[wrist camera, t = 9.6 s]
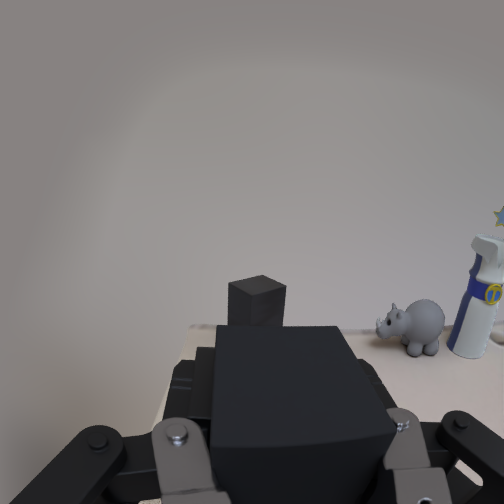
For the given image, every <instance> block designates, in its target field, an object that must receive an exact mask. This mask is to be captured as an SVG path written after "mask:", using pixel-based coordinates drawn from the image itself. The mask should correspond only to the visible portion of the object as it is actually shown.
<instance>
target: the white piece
mask: <svg viewBox="0 0 504 504" xmlns="http://www.w3.org/2000/svg"><path fill="white" fill-rule="evenodd" d="M494 214H495V215H496V217H497V218H498V220H497V222H496V226H499V225H503V226H504V206H503V208H502V210H501V211H500V212H495V211H494ZM471 246H472V248H473V249H474V251H475V252H476V259H475V263H474V265H473V267H472V268H471V269H470V270H469V273H470V279H469V283H468V287H467V290H466V291H465V293H464V295H463V298H462V300H461V304H460V307H459V311H458V314H457V317H456V320H455V323H454V325H453V328H452V331H451V333H450V336H449V338H448V341H447V346H448V347H449V349H450V350H451V351H452V352H454V353H455V354H457V355H459V356H461V357H464V358H469V359H477V358H480V357H482V356H483V354H484V351H485V348H486V345H487V342H488V339H489V336H490V333H491V330H492V326H493V323H494V320H495V317H496V314H497V310H498V305H499V300H500V298H501V296H502V286H503V284H504V239H501V238H499V237H495V236H490V235H485V234H477V235H476V237H475V239H474V240H473V242H472V244H471Z"/></svg>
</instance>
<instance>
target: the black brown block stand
mask: <svg viewBox="0 0 504 504" xmlns="http://www.w3.org/2000/svg"><path fill="white" fill-rule="evenodd" d="M285 296H286V285H283V284H281V283H279V282H277V281H275V280H273V279H270V278H268V277H266V276H264V275H260V276H256V277H251V278H247V279H243V280H239V281H234V282H230V283H229V284H228V325H232V326H283V316H284V306H285Z"/></svg>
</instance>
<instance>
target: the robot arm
mask: <svg viewBox="0 0 504 504" xmlns="http://www.w3.org/2000/svg"><path fill="white" fill-rule="evenodd" d="M350 349H351V348H350ZM352 352H353V351H352ZM353 354H354V353H353ZM355 357H356V356H355ZM214 358H215V347H197V351H196V358H195V360H181V361H180V362H179V363H178V364H177V365H176V366H175V368H174V370H173V374H172V380H171V383H170V388H169V392H168V396H167V401H166V405H165V410H164V414H163V419H162V421H161V422H159V423H158V424H157V425H156V426H155V427H154V428H153V430H152V431H151V432H149V433H147V434H144V435H139V436H130V437H121V435H120V434H119V433H118V431H116V430H115V429H113V428H111V427H108V426H103V425H95V426H91V427H88V428H85V429H84V430H82V431H81V432H80V433H79V434H78V435H77V436H76V437H75V438H74V439H73V440H72V441H71V442H70V443H69V444H68V445H67V446H66V447H65V448H64V449H63V450H62V451H61V452H60V453H59V454H58V455H57V456H56V457H55V458H54V459H53V460H52V461H51V462H50V463H49V464H48V465H47V466H46V467H45V468H44V469H43V470H42V471H41V472H40V473H39V474H38V475H37V476H36V477H35V478H34V479H33V480H32V481H31V482H30V483H29V484H28V485H27V486H26V487H25V488H24V489H23V490H22V491H21V493H19V494H18V495H17V496H16V497H15V498H14V499H13V500H12V501H11V502H10V503H9V504H138V503H139V502H140V501H144V500H152V499H159V498H161V503H162V504H232V503H231V500H230V498H229V495H228V493H227V491H226V489H225V487H223V486H221V485H220V482H219V480H218V477H217V474H216V471H215V468H213V467H211V462H210V428H211V408H212V390H213V373H214ZM356 359H357V358H356ZM357 360H358V362H359V364H360V365H361V367H362V369H363V371H364V372H365V374H366V376H367V377H368V379H369V381H370V383H371V384H372V386H373V388H374V389H375V391H376V393H377V395H378V396H379V398H380V400H381V402H382V403H383V405H384V407H385V409H386V410H387V412H388V414H389V416H390V418H391V419H392V421H393V423H394V425H395V426H396V428H397V433H396V435H395V437H394V439H393V441H392V443H391V445H390V447H389V449H388V451H387V452H386V453H383V454H382V456H381V458H380V459H379V461H378V463H377V471H376V473H375V474H374V476H373V478H372V479H371V481H370V483H369V484H368V486H367V488H366V489H365V491H364V493H362V494H359V496H358V497H357V499H356V500H355V504H504V439H502V438H501V437H500V436H498V435H497V434H496V433H494V432H493V431H492V430H490V429H489V428H488V427H486V426H485V425H484V424H482V423H481V422H480V421H478V420H477V419H475V418H474V417H473V416H471V415H470V414H468V413H466V412H463V411H457V410H456V411H450V412H448V413H446V414H445V415H444V417H443V419H442V420H441V422H419V419H418V418H417V416H416V415H415V414H413V413H412V412H410V411H408V410H406V409H402V408H398V407H397V405H396V404H395V402H394V400H393V399H392V397H391V396H390V394H389V392H388V391H387V389H386V387H385V386H384V384H382V381H381V379H380V378H379V377H378V375H377V373H376V371H375V370H374V368H373V367H372V366H371V365H370V364H369V363H367V362H366V361H365V360H363V359H357ZM459 459H460V460H461V461H463V462H464V463H465V464H466V465H467V466H469V467H470V468H471V469H472V470H473V471H475V472H476V473H477V474H478V475H479V476H480V477H481V478H482V480H483V486H478V485H476V484H475V483H474V482H473V481H471V480H470V479H469V478H468V477H467V476H465V475H464V474H463V473H462V472H461V471H460V470H458V469H457V468H456V467H455V465H456V463H457V462H458V461H459Z"/></svg>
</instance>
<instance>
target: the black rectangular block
mask: <svg viewBox="0 0 504 504" xmlns="http://www.w3.org/2000/svg"><path fill="white" fill-rule="evenodd" d="M396 433H397V428H396V426H395V425H394V423H393V421H392V419H391V418H390V416H389V414H388V412H387V410H386V409H385V407H384V405H383V403H382V402H381V400H380V398H379V396H378V395H377V393H376V391H375V389H374V388H373V386H372V384H371V383H370V381H369V379H368V377H367V376H366V374H365V372H364V371H363V369H362V367H361V365H360V364H359V362H358V360H357V359H356V357H355V355H354V354H353V352H352V350H351V349H350V347H349V345H348V343H347V342H346V340H345V338H344V337H343V335H342V333H341V332H340V330H339V328H338V327H337V326H298V327H297V326H294V327H292V326H291V327H289V326H288V327H287V326H284V327H283V326H232V325H217V328H216V343H215V358H214V373H213V390H212V408H211V428H210V462H211V467H213V468H215V471H216V474H217V477H218V480H219V482H220V485H221V486H223V487H225V489H226V491H227V493H228V495H229V498H230V500H231V503H232V504H355V500H356V499H357V497H358V496H359V494H362V493H364V491H365V489H366V488H367V486H368V484H369V483H370V481H371V479H372V478H373V476H374V474H375V473H376V471H377V463H378V461H379V459H380V458H381V456H382V454H383V453H386V452H387V451H388V449H389V447H390V445H391V443H392V441H393V439H394V437H395V435H396Z"/></svg>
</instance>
